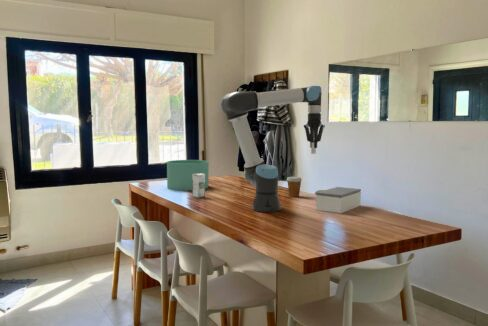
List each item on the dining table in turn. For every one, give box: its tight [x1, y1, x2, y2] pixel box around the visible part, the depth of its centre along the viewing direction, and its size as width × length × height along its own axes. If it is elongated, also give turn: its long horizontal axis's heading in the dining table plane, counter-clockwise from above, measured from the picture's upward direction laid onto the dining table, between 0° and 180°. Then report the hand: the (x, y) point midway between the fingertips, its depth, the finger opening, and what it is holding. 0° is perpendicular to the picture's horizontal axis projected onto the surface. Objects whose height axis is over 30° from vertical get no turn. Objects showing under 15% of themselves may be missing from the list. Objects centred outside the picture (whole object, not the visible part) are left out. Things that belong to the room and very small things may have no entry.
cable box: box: [315, 191, 362, 214], centre depth 224 cm, size 26×14×8 cm, turn 142°
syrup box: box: [191, 173, 206, 199], centre depth 256 cm, size 6×6×14 cm
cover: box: [315, 186, 362, 197], centre depth 224 cm, size 26×14×1 cm, turn 142°
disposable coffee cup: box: [286, 176, 303, 198], centre depth 260 cm, size 10×10×12 cm
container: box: [166, 159, 210, 191], centre depth 296 cm, size 30×30×19 cm
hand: (313, 153), depth 240 cm, fingers closed
